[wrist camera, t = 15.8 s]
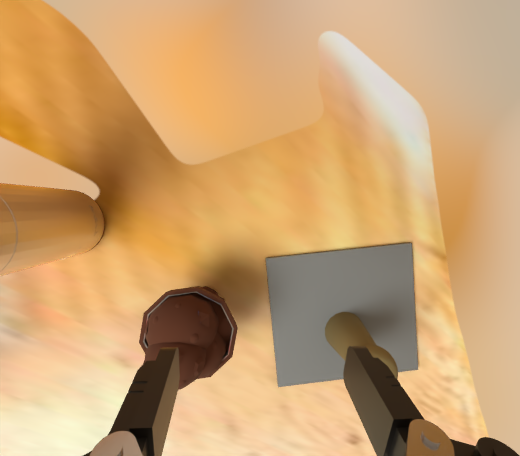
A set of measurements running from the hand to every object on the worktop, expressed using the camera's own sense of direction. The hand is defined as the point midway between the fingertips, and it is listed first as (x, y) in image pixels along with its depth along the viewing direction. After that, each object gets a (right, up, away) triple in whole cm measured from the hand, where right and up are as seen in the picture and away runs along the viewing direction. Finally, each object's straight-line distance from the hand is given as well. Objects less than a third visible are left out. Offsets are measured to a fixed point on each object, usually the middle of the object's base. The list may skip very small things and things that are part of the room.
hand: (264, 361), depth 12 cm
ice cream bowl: (-9, -5, +27) cm, 29 cm away
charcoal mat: (+13, -7, +28) cm, 31 cm away
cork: (+13, -9, +28) cm, 32 cm away
